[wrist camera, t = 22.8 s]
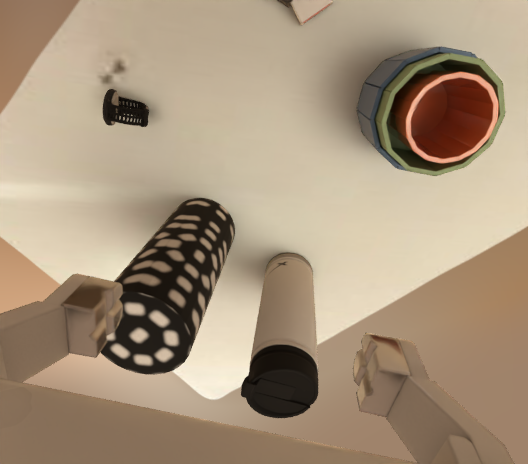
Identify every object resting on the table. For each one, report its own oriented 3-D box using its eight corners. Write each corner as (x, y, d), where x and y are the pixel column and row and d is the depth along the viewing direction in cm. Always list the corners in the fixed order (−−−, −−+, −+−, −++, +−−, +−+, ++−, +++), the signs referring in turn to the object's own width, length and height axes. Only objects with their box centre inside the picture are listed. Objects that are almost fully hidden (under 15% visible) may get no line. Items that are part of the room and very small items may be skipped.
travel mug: (271, 245, 46) (252, 363, 28) (319, 260, 46) (331, 387, 28) (257, 283, 48) (232, 412, 30) (303, 297, 49) (304, 434, 31)
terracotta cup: (393, 63, 33) (425, 63, 25) (460, 78, 33) (515, 82, 25) (371, 132, 36) (393, 153, 28) (433, 145, 36) (474, 170, 28)
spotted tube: (205, 267, 48) (148, 388, 30) (158, 225, 46) (67, 329, 28) (248, 231, 45) (213, 342, 27) (200, 184, 43) (128, 271, 25)
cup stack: (374, 42, 35) (401, 35, 26) (474, 62, 35) (537, 61, 25) (346, 143, 39) (360, 167, 30) (435, 160, 39) (476, 190, 30)
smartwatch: (124, 80, 39) (100, 82, 34) (164, 109, 40) (147, 115, 35) (108, 112, 40) (84, 118, 36) (147, 139, 41) (129, 149, 37)
